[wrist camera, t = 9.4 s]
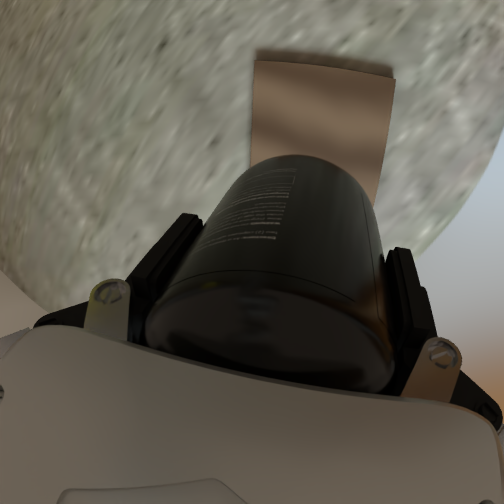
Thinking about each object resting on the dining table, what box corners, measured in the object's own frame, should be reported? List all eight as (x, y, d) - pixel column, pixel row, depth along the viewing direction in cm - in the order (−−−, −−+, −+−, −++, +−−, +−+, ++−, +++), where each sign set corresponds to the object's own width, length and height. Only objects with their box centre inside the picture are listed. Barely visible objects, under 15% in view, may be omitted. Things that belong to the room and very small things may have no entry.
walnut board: (257, 60, 25) (254, 60, 24) (393, 78, 23) (395, 79, 22) (251, 199, 33) (248, 203, 32) (368, 218, 30) (369, 223, 30)
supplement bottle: (223, 267, 17) (114, 489, 7) (231, 137, 13) (-3, 384, 3) (353, 295, 16) (329, 546, 6) (395, 171, 12) (480, 507, 2)
